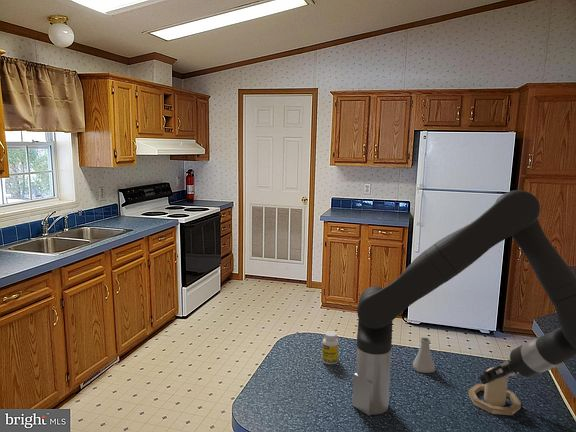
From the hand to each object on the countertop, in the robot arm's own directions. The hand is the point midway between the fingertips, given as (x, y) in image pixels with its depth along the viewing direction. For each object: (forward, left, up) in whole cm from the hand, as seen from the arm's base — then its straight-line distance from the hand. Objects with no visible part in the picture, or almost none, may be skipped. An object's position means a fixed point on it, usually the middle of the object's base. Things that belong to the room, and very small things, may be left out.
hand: (492, 377), depth 120 cm
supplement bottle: (-21, +44, -7) cm, 49 cm away
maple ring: (0, -1, -7) cm, 7 cm away
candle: (0, -1, -7) cm, 7 cm away
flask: (0, +22, -7) cm, 23 cm away
